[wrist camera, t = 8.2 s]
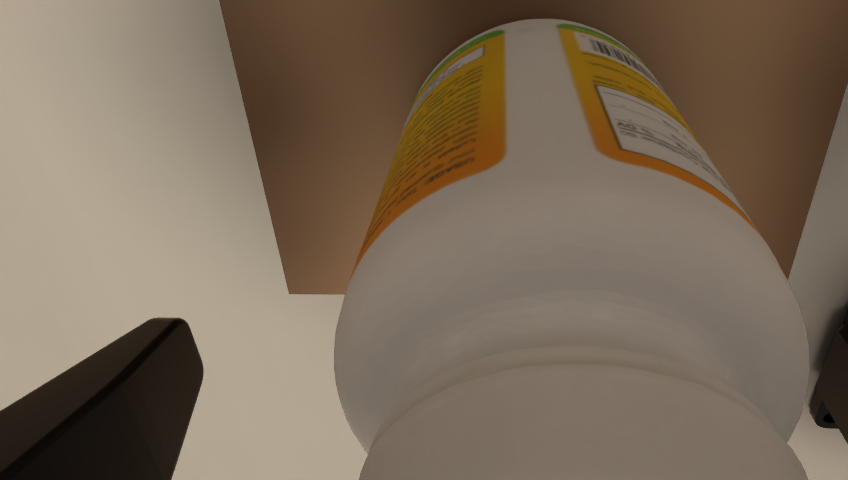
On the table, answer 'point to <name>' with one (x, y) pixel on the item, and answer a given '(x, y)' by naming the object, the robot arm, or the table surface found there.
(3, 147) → the table surface
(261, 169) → the block
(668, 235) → the supplement bottle
